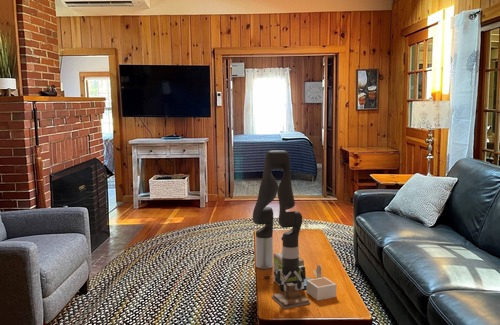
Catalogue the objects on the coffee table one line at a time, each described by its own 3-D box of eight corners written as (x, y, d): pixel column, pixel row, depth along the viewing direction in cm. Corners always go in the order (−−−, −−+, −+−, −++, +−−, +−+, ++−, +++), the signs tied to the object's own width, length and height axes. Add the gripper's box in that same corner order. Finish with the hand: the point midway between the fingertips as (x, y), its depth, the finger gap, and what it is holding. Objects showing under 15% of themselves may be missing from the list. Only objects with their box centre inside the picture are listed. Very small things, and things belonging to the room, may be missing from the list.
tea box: (273, 281, 222) (272, 253, 221) (291, 278, 226) (290, 250, 224) (285, 292, 208) (285, 262, 207) (304, 289, 212) (304, 259, 210)
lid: (272, 296, 203) (272, 281, 202) (296, 292, 207) (296, 277, 207) (284, 306, 192) (284, 291, 191) (308, 302, 196) (308, 287, 196)
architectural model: (314, 282, 222) (314, 267, 221) (313, 276, 229) (313, 263, 228) (321, 282, 222) (321, 267, 221) (319, 276, 229) (320, 263, 228)
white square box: (306, 292, 208) (306, 280, 208) (324, 288, 212) (324, 276, 211) (317, 300, 199) (317, 287, 198) (336, 296, 203) (336, 284, 202)
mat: (271, 297, 203) (271, 296, 203) (296, 292, 208) (296, 291, 208) (284, 308, 191) (284, 307, 191) (310, 303, 196) (310, 302, 196)
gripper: (300, 250, 203) (300, 284, 205) (272, 254, 198) (272, 289, 200) (308, 255, 196) (308, 290, 198) (279, 260, 191) (279, 295, 193)
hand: (290, 290), depth 199 cm, fingers open, 8 cm apart
